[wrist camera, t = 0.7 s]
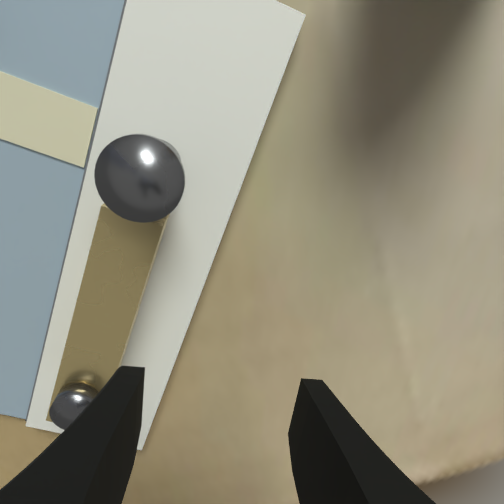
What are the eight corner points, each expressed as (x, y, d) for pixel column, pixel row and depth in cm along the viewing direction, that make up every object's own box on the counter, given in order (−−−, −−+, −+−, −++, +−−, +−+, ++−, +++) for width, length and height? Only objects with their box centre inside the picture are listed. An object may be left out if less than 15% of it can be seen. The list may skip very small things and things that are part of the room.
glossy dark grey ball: (118, 180, 16) (85, 205, 12) (136, 115, 16) (106, 120, 12) (181, 202, 17) (169, 233, 13) (202, 140, 16) (195, 154, 12)
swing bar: (116, 191, 15) (94, 212, 13) (170, 210, 16) (160, 233, 13) (65, 385, 18) (37, 435, 16) (110, 396, 19) (92, 447, 16)
